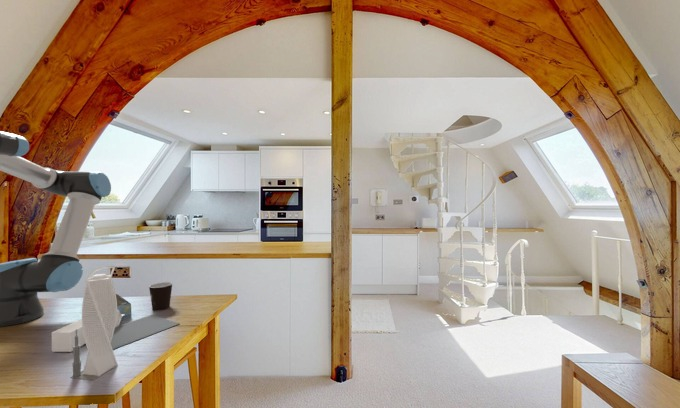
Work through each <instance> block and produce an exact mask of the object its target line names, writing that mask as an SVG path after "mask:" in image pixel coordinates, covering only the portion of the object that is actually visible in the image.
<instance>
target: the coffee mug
mask: <svg viewBox="0 0 680 408" xmlns="http://www.w3.org/2000/svg"><path fill="white" fill-rule="evenodd" d="M148 288H149V295H150V302H151V309H152V311H156V312H157V311H158V310H159V311H164V310H167V309H170V307H171V300H172V299H171V298H172V290H173V289H172V288H173V282H170V281H165V282H156V283H152V284H150V285H148Z"/></svg>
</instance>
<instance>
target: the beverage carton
mask: <svg viewBox="0 0 680 408" xmlns="http://www.w3.org/2000/svg"><path fill="white" fill-rule="evenodd" d="M116 299H117V310H119V312H120V313H121V314H125V315H124V316H122V318H121V321H123V320H127V319H130V317H131V318H132V303H130V302H129V301H128V300H127V299H125V298H124V297H122V296H121V295H119V294H117V293H116Z"/></svg>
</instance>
